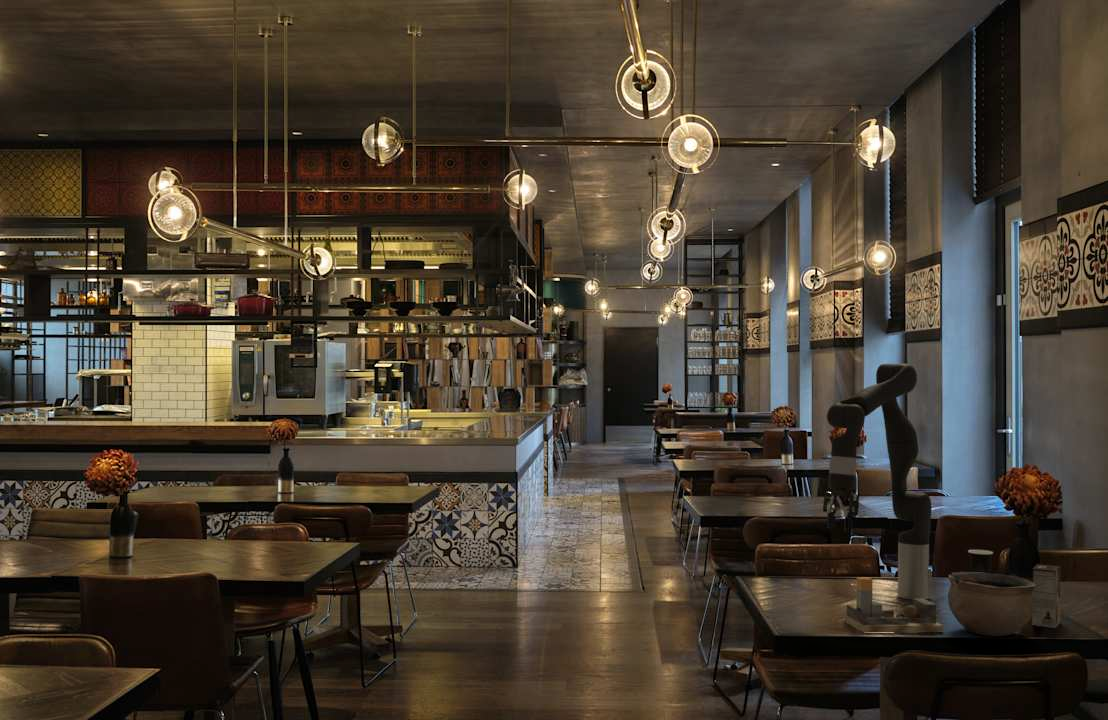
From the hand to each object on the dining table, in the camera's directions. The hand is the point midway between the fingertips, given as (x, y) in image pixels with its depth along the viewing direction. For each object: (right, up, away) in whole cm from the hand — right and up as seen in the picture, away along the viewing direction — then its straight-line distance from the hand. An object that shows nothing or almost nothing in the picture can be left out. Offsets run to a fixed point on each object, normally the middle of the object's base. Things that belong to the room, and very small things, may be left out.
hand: (839, 529), depth 297 cm
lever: (+5, -23, -12) cm, 26 cm away
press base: (+12, -25, -12) cm, 30 cm away
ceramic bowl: (+36, -26, -17) cm, 48 cm away
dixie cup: (+63, -28, +54) cm, 88 cm away
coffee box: (+57, -26, -5) cm, 63 cm away
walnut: (+17, -23, -11) cm, 31 cm away
